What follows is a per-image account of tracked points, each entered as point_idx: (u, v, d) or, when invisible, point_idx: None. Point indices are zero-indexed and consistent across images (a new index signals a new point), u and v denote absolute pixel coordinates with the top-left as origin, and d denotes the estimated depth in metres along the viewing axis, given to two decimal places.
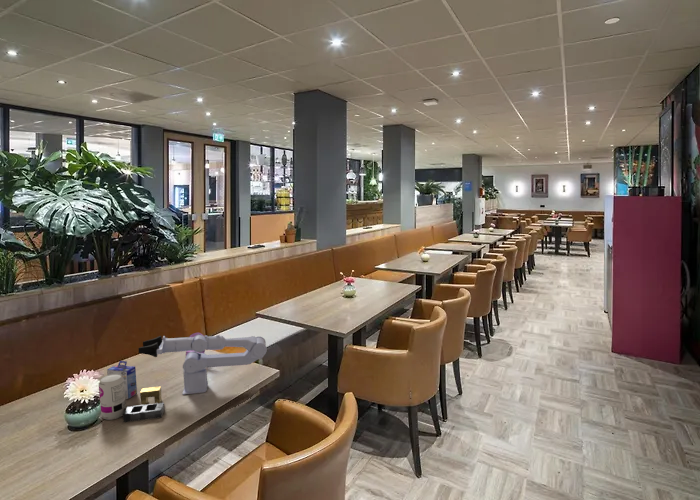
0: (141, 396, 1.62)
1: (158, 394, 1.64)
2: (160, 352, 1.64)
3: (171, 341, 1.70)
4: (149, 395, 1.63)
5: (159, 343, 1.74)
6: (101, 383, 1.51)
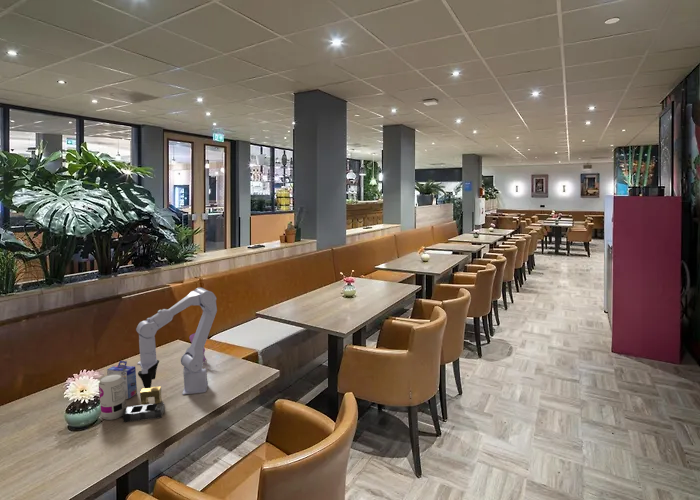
0: (141, 396, 1.62)
1: (158, 394, 1.64)
2: (145, 370, 1.56)
3: (140, 357, 1.60)
4: (149, 395, 1.63)
5: None
6: (101, 383, 1.51)
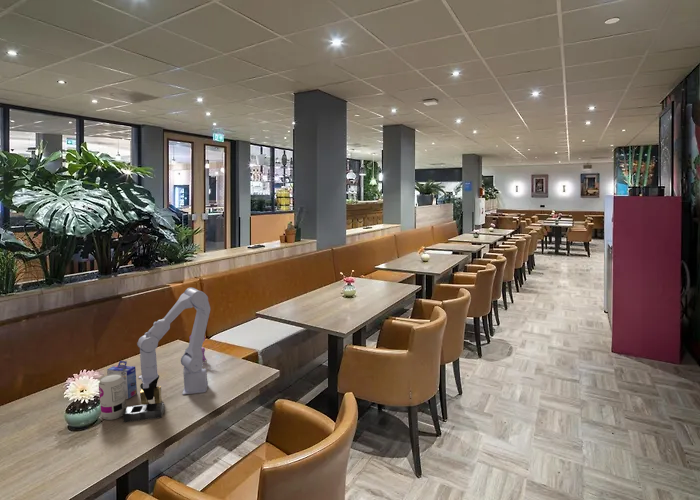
0: (141, 396, 1.62)
1: (158, 394, 1.64)
2: (146, 384, 1.57)
3: (141, 371, 1.61)
4: None
5: None
6: (101, 383, 1.51)
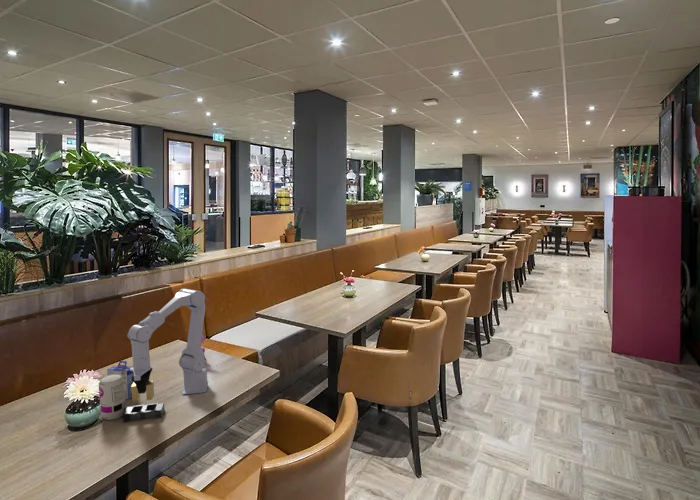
0: (132, 390, 1.53)
1: (150, 389, 1.55)
2: (137, 377, 1.48)
3: (133, 363, 1.52)
4: None
5: None
6: (101, 383, 1.51)
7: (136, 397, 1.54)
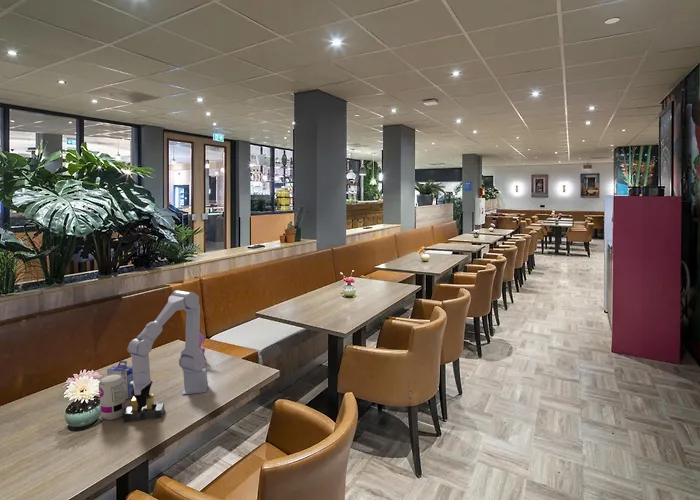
0: (132, 404, 1.53)
1: (150, 402, 1.54)
2: (137, 391, 1.47)
3: (133, 377, 1.51)
4: None
5: None
6: (101, 383, 1.51)
7: (136, 411, 1.53)
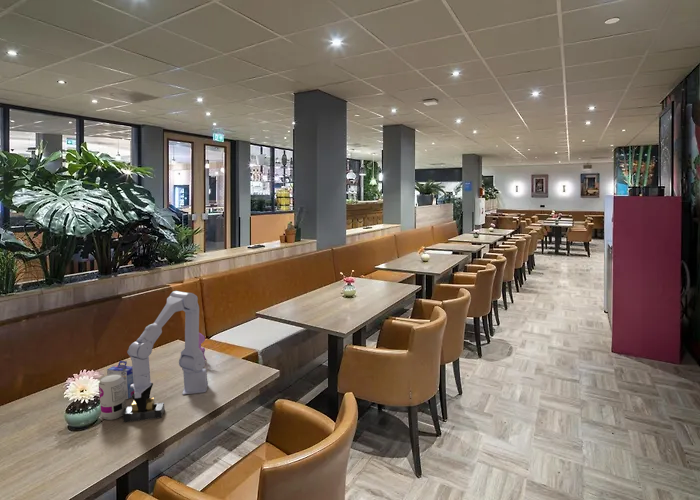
0: (133, 408, 1.53)
1: (151, 406, 1.54)
2: (138, 394, 1.47)
3: (133, 379, 1.52)
4: None
5: None
6: (101, 383, 1.51)
7: None
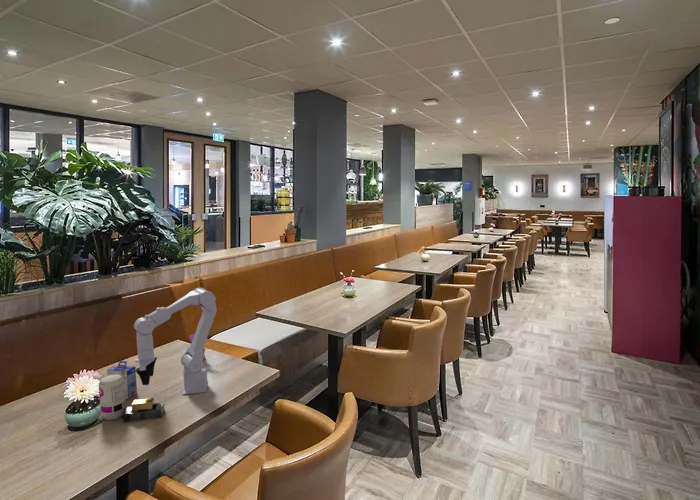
0: (133, 408, 1.53)
1: (151, 406, 1.54)
2: (143, 367, 1.56)
3: (138, 354, 1.60)
4: (141, 407, 1.54)
5: None
6: (101, 383, 1.51)
7: None
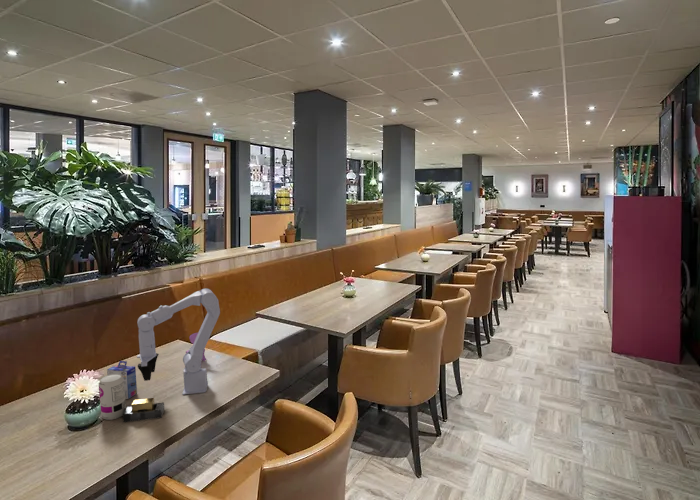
0: (133, 408, 1.53)
1: (151, 406, 1.54)
2: (144, 362, 1.59)
3: (140, 350, 1.64)
4: (141, 407, 1.54)
5: None
6: (101, 383, 1.51)
7: None
